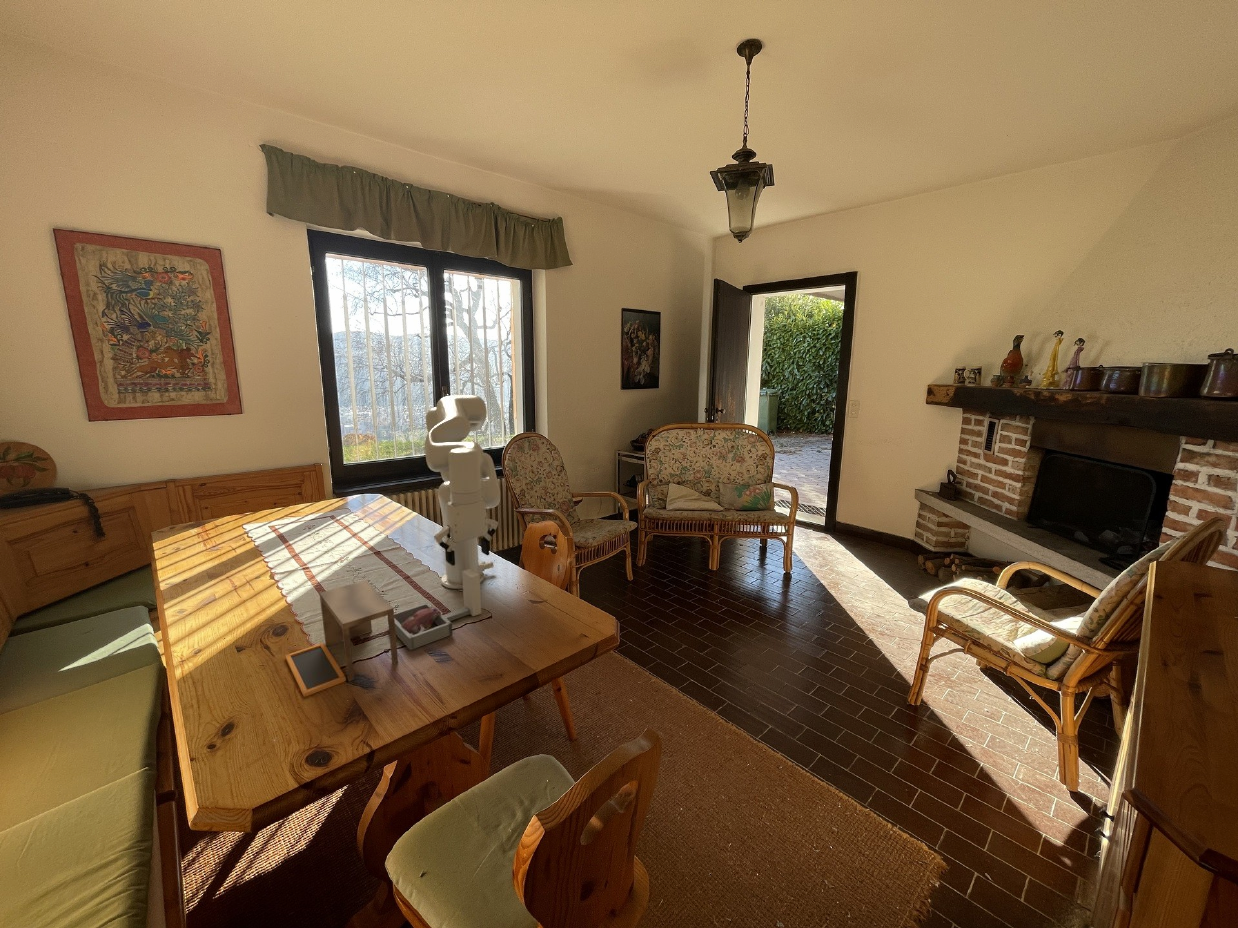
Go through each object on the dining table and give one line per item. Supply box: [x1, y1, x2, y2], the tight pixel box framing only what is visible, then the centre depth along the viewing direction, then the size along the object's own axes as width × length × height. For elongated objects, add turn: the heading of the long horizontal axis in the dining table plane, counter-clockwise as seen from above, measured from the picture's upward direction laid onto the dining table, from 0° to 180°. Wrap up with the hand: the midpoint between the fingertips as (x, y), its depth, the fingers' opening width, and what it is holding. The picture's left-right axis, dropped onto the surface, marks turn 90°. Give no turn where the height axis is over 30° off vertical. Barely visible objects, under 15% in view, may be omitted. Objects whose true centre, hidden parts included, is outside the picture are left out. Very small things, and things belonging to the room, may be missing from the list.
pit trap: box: [284, 642, 347, 698], centre depth 107 cm, size 8×18×1 cm, turn 43°
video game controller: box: [401, 605, 442, 636], centre depth 122 cm, size 10×5×7 cm, turn 148°
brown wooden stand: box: [319, 580, 399, 682], centre depth 112 cm, size 10×18×13 cm, turn 43°
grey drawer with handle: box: [394, 569, 482, 651], centre depth 125 cm, size 20×14×11 cm
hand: (468, 558), depth 130 cm, fingers open, 9 cm apart
